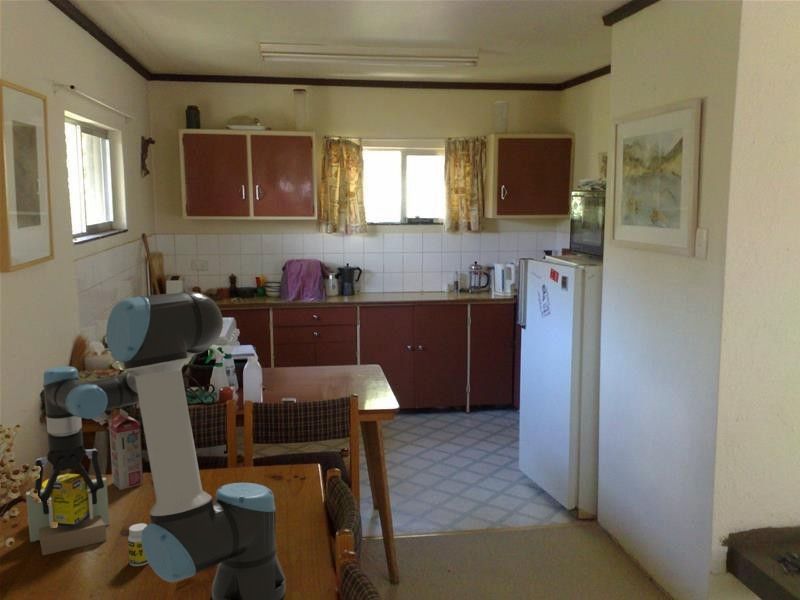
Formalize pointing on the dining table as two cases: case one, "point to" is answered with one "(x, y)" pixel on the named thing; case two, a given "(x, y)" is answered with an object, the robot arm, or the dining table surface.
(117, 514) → the dining table surface
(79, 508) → the supplement box
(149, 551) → the robot arm
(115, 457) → the juice carton
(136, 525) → the supplement bottle
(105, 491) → the letter holder
